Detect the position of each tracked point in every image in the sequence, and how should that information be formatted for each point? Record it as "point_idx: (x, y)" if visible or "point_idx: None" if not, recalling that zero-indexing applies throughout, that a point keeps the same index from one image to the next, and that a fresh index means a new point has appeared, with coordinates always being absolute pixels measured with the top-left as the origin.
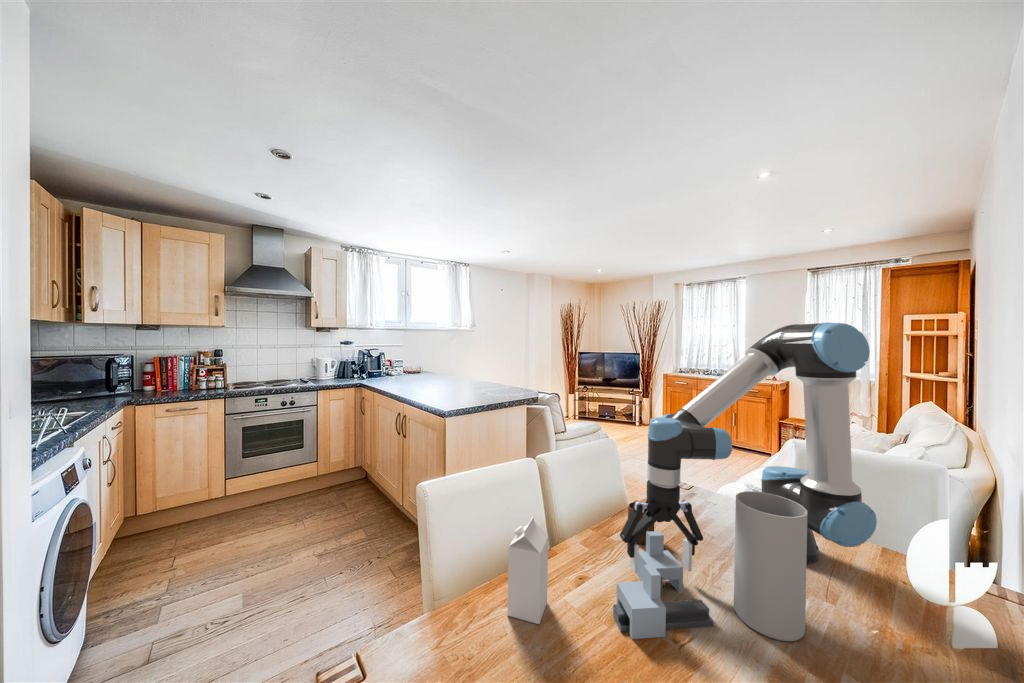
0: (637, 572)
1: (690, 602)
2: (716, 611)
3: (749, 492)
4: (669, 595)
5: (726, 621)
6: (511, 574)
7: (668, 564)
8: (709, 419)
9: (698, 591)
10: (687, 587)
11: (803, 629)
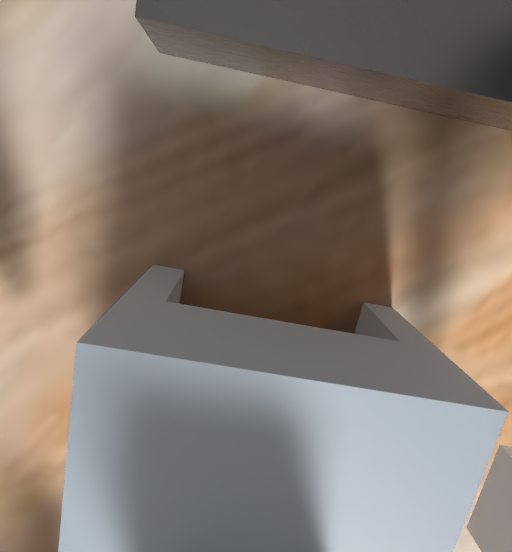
0: (505, 448)
1: (272, 11)
2: (33, 14)
3: None
4: (270, 263)
5: None
6: None
7: (229, 431)
8: None
9: (24, 243)
10: (79, 299)
11: None
